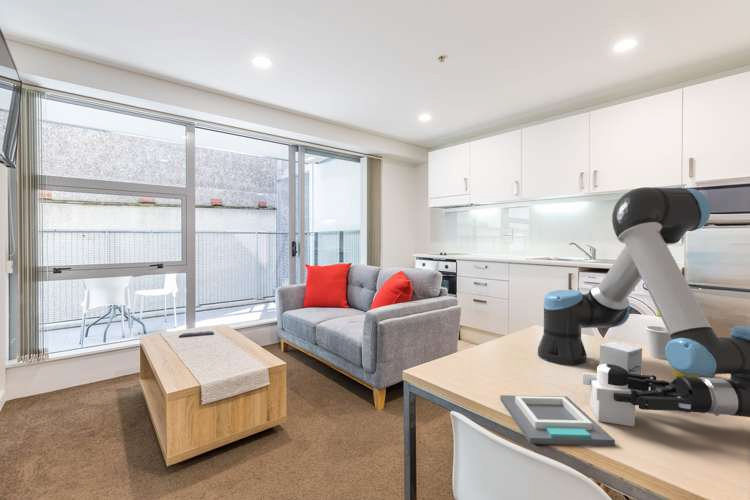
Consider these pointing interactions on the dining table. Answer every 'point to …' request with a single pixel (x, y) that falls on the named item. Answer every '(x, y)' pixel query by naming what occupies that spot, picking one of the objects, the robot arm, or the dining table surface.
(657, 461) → the dining table surface
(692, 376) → the lemon
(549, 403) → the dock
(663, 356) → the dixie cup
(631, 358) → the supplement box
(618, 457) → the dining table surface
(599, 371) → the medicine bottle
